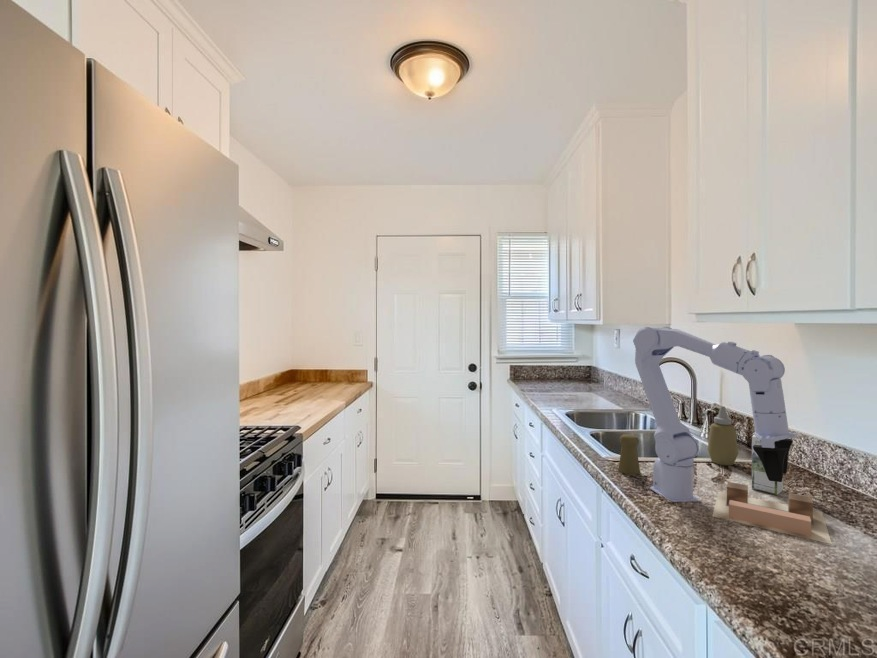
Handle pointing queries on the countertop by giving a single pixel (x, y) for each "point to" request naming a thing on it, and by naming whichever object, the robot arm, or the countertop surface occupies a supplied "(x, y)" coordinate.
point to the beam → (770, 517)
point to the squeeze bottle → (722, 440)
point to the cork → (629, 455)
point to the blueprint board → (795, 505)
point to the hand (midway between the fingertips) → (777, 476)
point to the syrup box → (762, 474)
